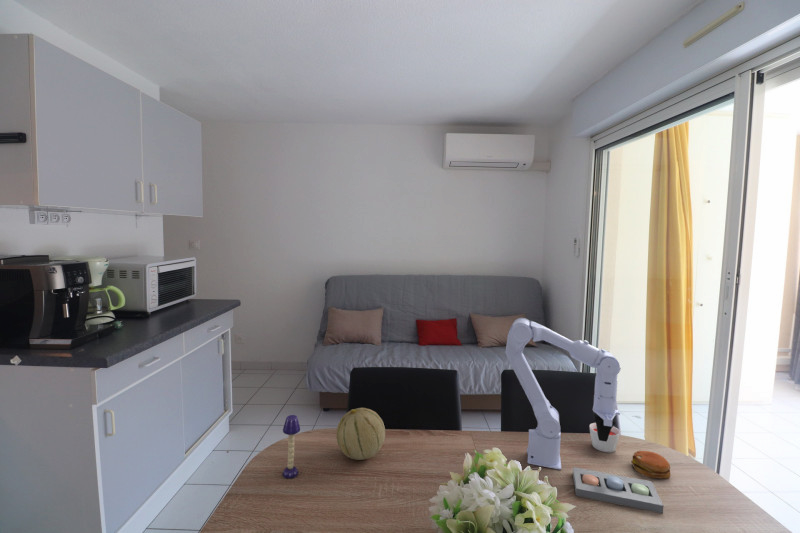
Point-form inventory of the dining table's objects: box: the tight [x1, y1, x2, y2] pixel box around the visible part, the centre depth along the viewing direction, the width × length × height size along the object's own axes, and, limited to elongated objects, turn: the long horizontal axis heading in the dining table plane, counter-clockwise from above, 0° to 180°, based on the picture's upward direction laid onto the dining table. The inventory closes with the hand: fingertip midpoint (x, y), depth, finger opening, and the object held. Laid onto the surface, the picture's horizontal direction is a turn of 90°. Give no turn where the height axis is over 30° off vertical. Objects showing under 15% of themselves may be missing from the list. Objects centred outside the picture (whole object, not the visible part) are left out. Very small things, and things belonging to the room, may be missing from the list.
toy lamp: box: [282, 414, 301, 479], centre depth 114 cm, size 5×5×17 cm
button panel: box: [572, 466, 664, 514], centre depth 110 cm, size 20×11×2 cm, turn 72°
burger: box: [630, 450, 671, 480], centre depth 122 cm, size 10×9×5 cm
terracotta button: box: [581, 474, 599, 486], centre depth 112 cm, size 4×4×2 cm
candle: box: [589, 422, 621, 453], centre depth 135 cm, size 9×9×6 cm
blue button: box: [606, 476, 624, 491], centre depth 110 cm, size 4×4×2 cm
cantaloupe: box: [335, 407, 386, 461], centre depth 125 cm, size 15×15×15 cm
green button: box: [631, 483, 649, 496], centre depth 108 cm, size 4×4×2 cm
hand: (602, 440), depth 120 cm, fingers closed
